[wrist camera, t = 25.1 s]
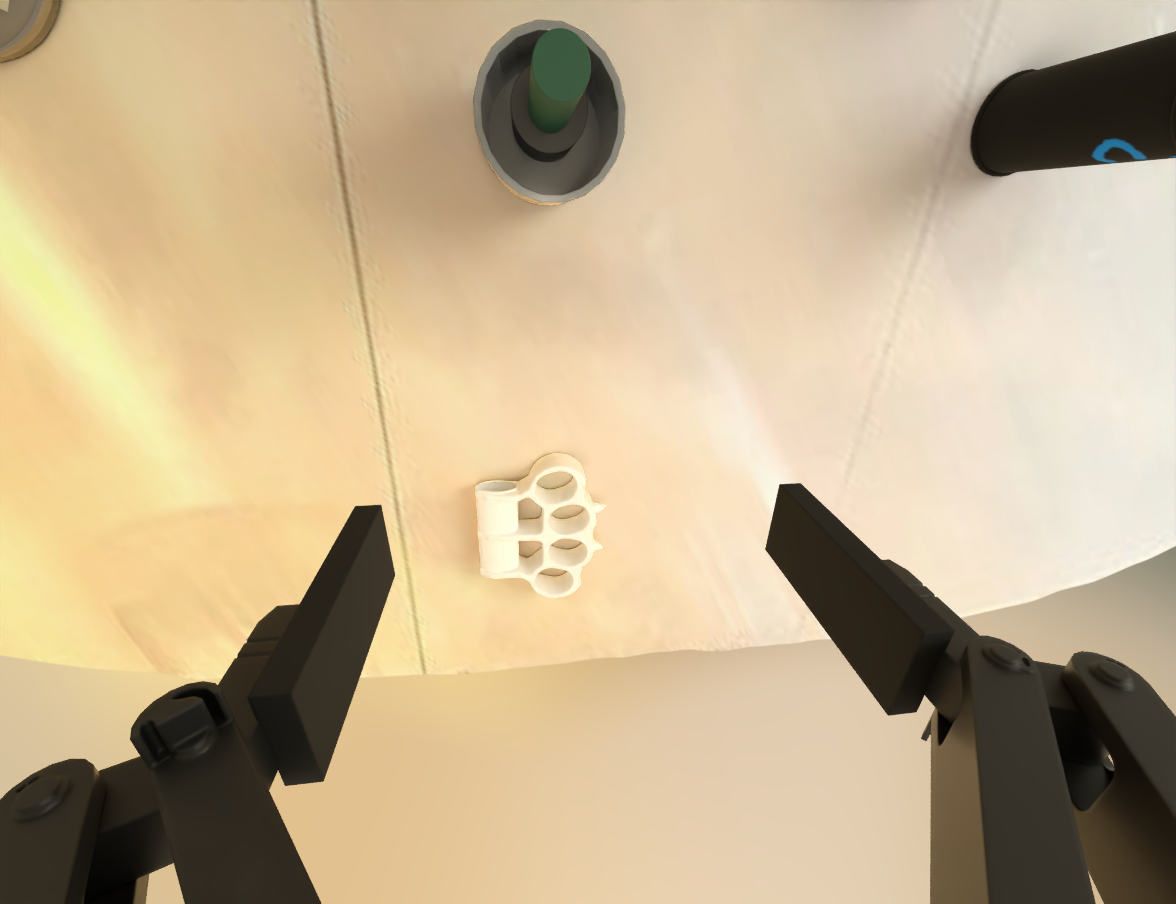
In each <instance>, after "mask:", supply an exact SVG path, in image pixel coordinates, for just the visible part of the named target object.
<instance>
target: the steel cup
mask: <svg viewBox="0 0 1176 904" xmlns="http://www.w3.org/2000/svg"><path fill="white" fill-rule="evenodd" d="M555 28H565V29H568V30H571V31H573V32H574V33H576V34H577V35H578V36H579V37H580V38H581V39H582V41H583V42H584V44H585V45H586V47H587V49H588V52H589V55H590V60H591V74H590V79H589V82H588V84H587V87H586V89H585V92H586V96H587V101H588V117H587V123H586V126H585V129H584V131H583V133H582V135H581V137H580V138H579V139H578V141H577V142H576V143H575V145H574V146H573V147H572V149H571V150H570V151H569V152H568V153H567V154H566V155H565V156H564V157H563V158H561V159H559V160H557V161H554V162H540V161H537V160H534V159H533V158H531V157H529V156H528V155H527V154H526V153H525V152H524V151H523V150H522V149H521V148H520V146H519V145H518V143H517V141H516V139H515V136H514V133H513V128H512V118H511V93H512V89H513V86H514V83H515V81H516V79H517V77H518V76H519V75H520V73H521V72H522V71H523V70H524V69H525V68H526V67H527V66H528V65H530V64H531V61H532V54H533V50H534V47H535V45H536V43H537V41H538V40H539V38H540V37H541V36H542V35H543V34H544V33H546V32H547V31H549V30H551V29H555ZM473 99H474V100H473V105H474V119H475V129H476V133H477V136H478V138H479V141H480V144H481V147H482V150H483V153H484V155H485V157H486V159H487V161H488V163H489V164H490V166H491V168H492V169H493V171H494V172H495V174H496V175H497V177H498V178H499V180H500V181H501V183H502V184H503V185H504V186H505V187H506V188H507V189H509V190H510V191H511V192H512V193H513V194H515V195H516V196H517V197H518V198H520V199H523V200H525V201H528V202H530V203H533V204H536V205H558V204H561V203H564V202H567V201H570V200H573V199H576V198H579V197H582V196H584V195H586V194H587V193H588V192H589V191H591V190H592V189H593V188H595V187H596V186H597V185H598V184H600V183H601V182H602V181H603V180H604V178H605V177H606V175H607V174H608V172H609V171H610V169H611V168H612V166H613V165H614V163H615V162H616V160H617V157H618V154H619V151H620V147H621V144H622V141H623V138H624V133H625V109H626V108H625V102H624V97H623V93H622V88H621V84H620V79H619V77H618V75H617V73H616V71H615V69H614V67H613V65H612V63H611V62H610V60H609V58H608V56H607V54H606V53H605V51H604V50H603V49H602V48H601V47H600V46H599V45H598V44H597V43H596V42H595V41H594V40H593V39H592V38H591V37H590V36H589V35H588V34H586V33H585V32H583V31H581V30H579V29H577V28H575V27H573V26H571V25H569V24H567V23H565V22H562V21H550V20H534V21H532V22H529V23H526V24H523V25H520V26H517V27H515V28H513V29H511V30H510V31H509V32H508V33H507V34H505V35H504V36H503V37H502V38H501V39H500V40H499V41H498V42H496V43H495V44H494V45H493V47H492V48H491V50H490V52H489V53H488V55H487V57H486V59H485V61H484V63H483V64H482V66H481V68H480V70H479V73H478V78H477V83H476V88H475V93H474V98H473Z"/></svg>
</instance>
